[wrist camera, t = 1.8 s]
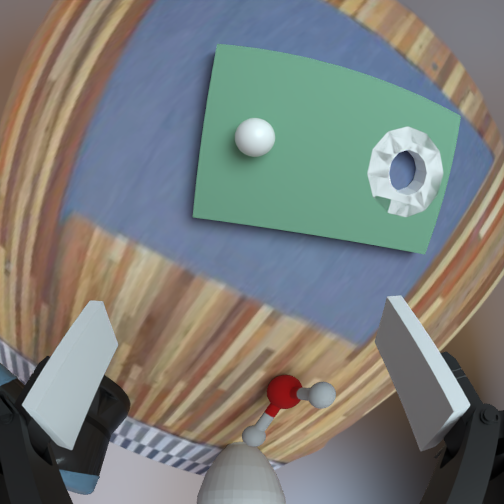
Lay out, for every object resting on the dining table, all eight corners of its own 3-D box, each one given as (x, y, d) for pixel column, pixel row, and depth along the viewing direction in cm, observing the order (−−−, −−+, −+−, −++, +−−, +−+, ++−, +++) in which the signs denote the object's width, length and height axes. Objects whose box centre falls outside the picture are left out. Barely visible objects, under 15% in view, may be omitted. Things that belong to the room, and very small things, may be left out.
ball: (233, 151, 27) (230, 155, 24) (238, 115, 25) (237, 114, 22) (270, 157, 27) (273, 162, 24) (276, 121, 26) (280, 121, 22)
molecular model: (310, 340, 40) (324, 393, 31) (335, 354, 41) (350, 405, 32) (236, 397, 46) (234, 446, 36) (260, 408, 47) (262, 454, 38)
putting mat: (196, 210, 32) (192, 217, 30) (219, 50, 24) (217, 43, 22) (415, 246, 34) (424, 254, 32) (448, 115, 26) (460, 116, 24)
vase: (282, 459, 58) (289, 545, 35) (212, 462, 59) (207, 546, 36) (278, 427, 50) (286, 538, 28) (193, 431, 51) (180, 536, 29)
